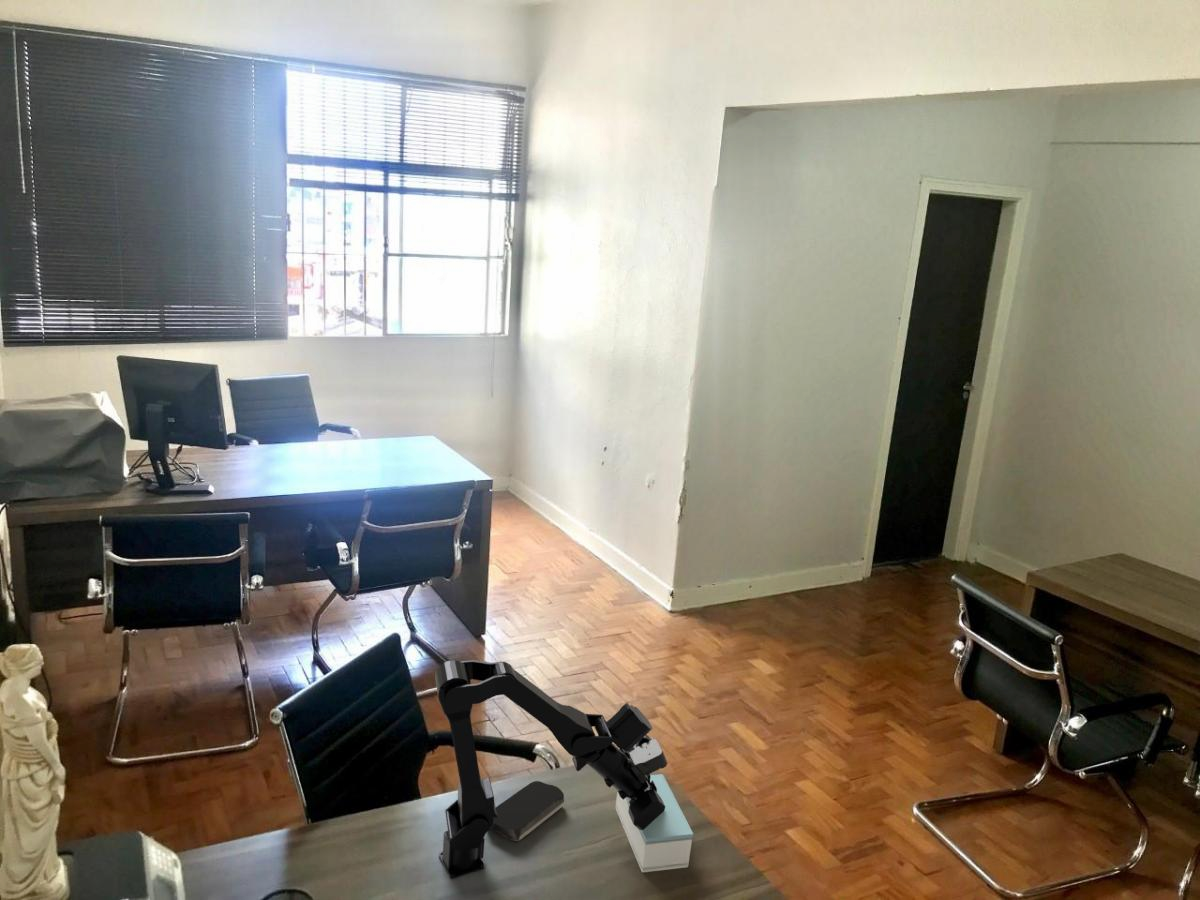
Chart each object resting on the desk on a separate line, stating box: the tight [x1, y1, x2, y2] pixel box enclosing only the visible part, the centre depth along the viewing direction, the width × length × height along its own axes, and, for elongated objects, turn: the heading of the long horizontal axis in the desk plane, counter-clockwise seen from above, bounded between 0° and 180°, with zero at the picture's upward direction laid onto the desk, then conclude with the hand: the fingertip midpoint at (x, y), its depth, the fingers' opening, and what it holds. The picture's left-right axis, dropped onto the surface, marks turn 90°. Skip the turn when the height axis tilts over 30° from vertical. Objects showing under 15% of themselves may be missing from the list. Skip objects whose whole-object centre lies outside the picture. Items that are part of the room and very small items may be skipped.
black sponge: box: [489, 780, 565, 842], centre depth 174 cm, size 16×8×4 cm, turn 144°
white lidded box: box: [615, 790, 693, 873], centre depth 172 cm, size 9×18×6 cm, turn 15°
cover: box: [626, 773, 694, 843], centre depth 171 cm, size 9×18×1 cm, turn 15°
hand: (661, 808), depth 169 cm, fingers closed, pressing on cover
